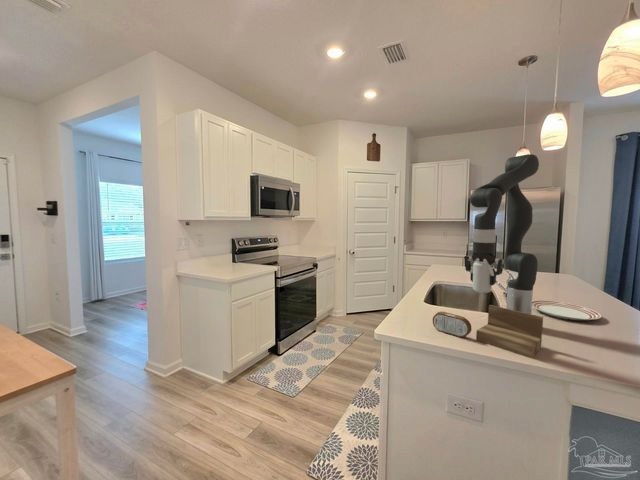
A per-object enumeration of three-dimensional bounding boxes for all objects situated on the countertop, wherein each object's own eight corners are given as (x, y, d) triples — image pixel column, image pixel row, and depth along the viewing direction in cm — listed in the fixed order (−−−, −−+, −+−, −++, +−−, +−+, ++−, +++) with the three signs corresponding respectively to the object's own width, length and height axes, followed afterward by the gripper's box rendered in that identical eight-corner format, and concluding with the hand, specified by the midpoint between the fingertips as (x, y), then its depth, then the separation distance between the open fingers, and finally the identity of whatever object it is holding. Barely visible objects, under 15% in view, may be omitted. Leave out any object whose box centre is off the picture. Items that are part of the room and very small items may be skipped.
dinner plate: (607, 317, 139) (608, 310, 139) (592, 329, 124) (592, 321, 123) (540, 302, 162) (541, 297, 161) (520, 311, 146) (520, 305, 146)
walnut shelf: (488, 332, 119) (489, 304, 118) (540, 348, 105) (543, 317, 104) (476, 340, 111) (477, 310, 110) (530, 358, 97) (533, 324, 96)
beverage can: (493, 293, 106) (495, 262, 105) (475, 293, 108) (476, 262, 106) (487, 289, 112) (488, 259, 111) (470, 288, 114) (471, 259, 113)
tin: (471, 338, 113) (472, 318, 112) (468, 340, 111) (469, 320, 110) (434, 327, 124) (434, 309, 123) (431, 329, 121) (431, 310, 121)
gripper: (509, 241, 105) (507, 285, 106) (469, 239, 116) (468, 278, 118) (501, 242, 100) (499, 288, 102) (460, 240, 111) (459, 281, 113)
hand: (482, 283), depth 110 cm, fingers closed on beverage can, 6 cm apart
